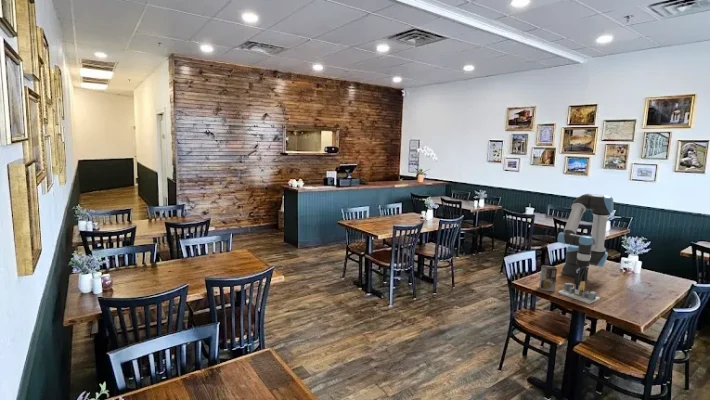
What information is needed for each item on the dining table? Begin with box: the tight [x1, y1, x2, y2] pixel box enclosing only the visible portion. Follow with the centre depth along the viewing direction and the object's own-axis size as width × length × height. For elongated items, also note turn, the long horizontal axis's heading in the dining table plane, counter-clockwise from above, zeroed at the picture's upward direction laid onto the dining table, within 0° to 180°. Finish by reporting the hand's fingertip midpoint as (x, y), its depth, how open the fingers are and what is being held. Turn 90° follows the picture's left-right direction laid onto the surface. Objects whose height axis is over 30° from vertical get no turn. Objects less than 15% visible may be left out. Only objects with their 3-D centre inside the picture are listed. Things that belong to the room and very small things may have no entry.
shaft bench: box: [557, 282, 601, 305], centre depth 258 cm, size 20×14×6 cm
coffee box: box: [539, 264, 558, 292], centre depth 268 cm, size 9×6×16 cm
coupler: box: [577, 280, 586, 295], centre depth 258 cm, size 5×5×9 cm
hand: (579, 293), depth 258 cm, fingers closed on coupler, 5 cm apart
